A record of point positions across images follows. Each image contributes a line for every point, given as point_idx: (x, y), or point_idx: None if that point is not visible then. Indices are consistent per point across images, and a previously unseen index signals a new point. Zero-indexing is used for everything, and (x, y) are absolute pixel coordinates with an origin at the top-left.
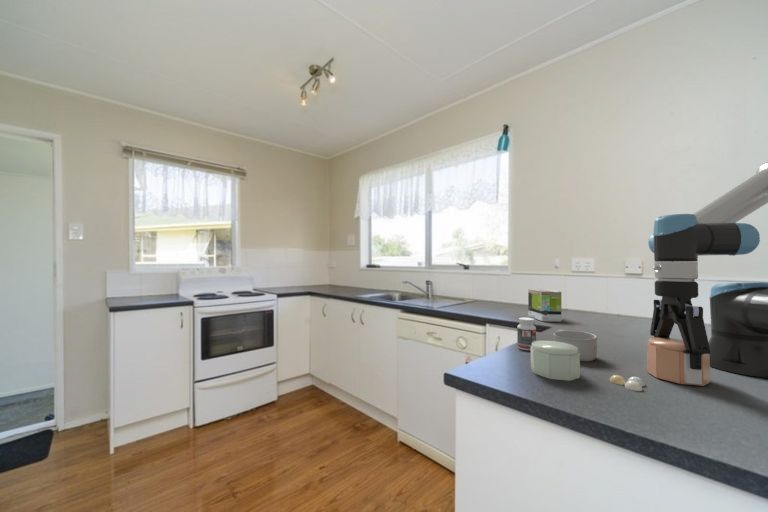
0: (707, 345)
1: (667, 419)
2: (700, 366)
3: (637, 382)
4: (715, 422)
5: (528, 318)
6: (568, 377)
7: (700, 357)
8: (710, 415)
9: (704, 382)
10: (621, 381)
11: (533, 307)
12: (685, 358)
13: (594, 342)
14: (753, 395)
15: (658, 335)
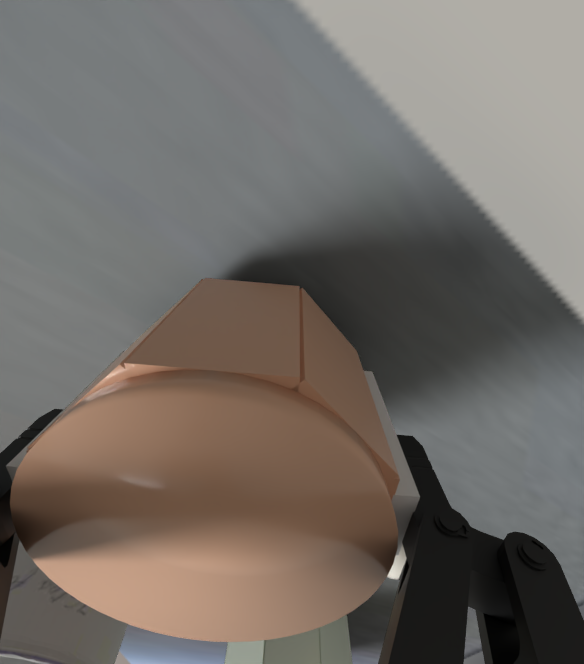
0: (577, 624)
1: (535, 533)
2: (425, 457)
3: (402, 566)
4: (568, 452)
5: None
6: (350, 649)
7: (445, 504)
8: (528, 436)
9: (350, 347)
10: None
11: None
12: None
13: (65, 637)
14: (341, 101)
15: (10, 579)
